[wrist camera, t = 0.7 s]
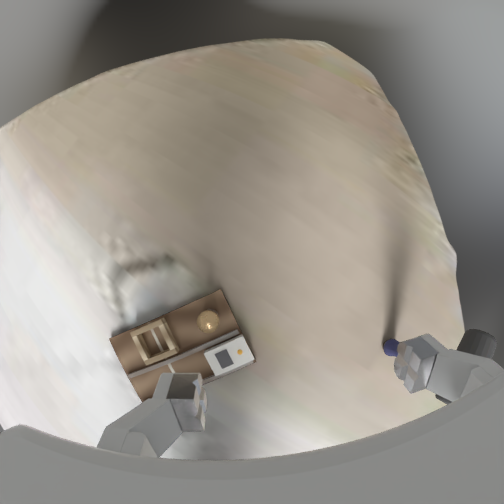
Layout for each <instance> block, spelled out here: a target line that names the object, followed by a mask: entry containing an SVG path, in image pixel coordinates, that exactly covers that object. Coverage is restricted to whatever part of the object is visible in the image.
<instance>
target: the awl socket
mask: <svg viewBox="0 0 504 504" xmlns="http://www.w3.org/2000/svg"><path fill="white" fill-rule="evenodd" d="M158 326H159V328H160V331H161V333H162V335H163V337H164V339H165V341H166V343H167V345H168V347H169V349H167V350H165V351H162V352H160V353H157V354H155V355H151V353H150V351H149V349H148V347H147V345H146V343H145V340H144V338H143V336H142V334H141V333H144V332H146V331H148V330H151V329H153V328H155V327H158ZM130 334H131V336H132V338H133V340H134V342H135V345H136V347H137V349H138V351H139V353H140V355H141V357H142V359H143V361H144V362H145V364H146V365H149V364H152V363H154V362H157V361H159V360H162V359H164V358H167V357H169V356H172V355H174V354H176V353H178V352H179V350H180V349H179V347H178V345H177V343H176V341H175V339H174V337H173V335H172V333H171V331H170V328H169V326H168V324H167V322H166V320H165V318H162V319H160V320H157V321H155V322H153V323H151V324H148V325H146V326H144V327H141V328H139V329H137V330H135V331H132V332H130Z"/></svg>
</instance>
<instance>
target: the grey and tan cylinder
mask: <svg viewBox="0 0 504 504" xmlns="http://www.w3.org/2000/svg"><path fill="white" fill-rule="evenodd" d="M197 326H198V328H199V329H200V330H201V331H202V332H204V333H212V332H214V331H215V330H216V329H217V328H218V326H219V315H218V313H217V311H215V310H214V309H208V310H205V311H203V312H202V313H201V314H200V315H199V316H198V318H197Z"/></svg>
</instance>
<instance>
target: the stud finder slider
mask: <svg viewBox="0 0 504 504" xmlns="http://www.w3.org/2000/svg"><path fill="white" fill-rule="evenodd" d="M204 355H205V357H206V359H207V361H208V363H209V365H210V367H211V369H212V370H213V372H214V374H215V376H218V375H220V374H223V373H225V372H227V371H230V370H232V369H234V368H237V367H239V366H241V365H243V364H246V363H248V362H250V361H252V360H254V357H253V354H252V352H251V350H250V349H249V347H248V345H247V343H246V341H245V339H244V336H243V334H241V335H239V336H236V337H234V338H232V339H230V340H228V341H225V342H223V343H221V344H219V345H216V346H214V347H212V348H209V349H207V350H205V351H204Z"/></svg>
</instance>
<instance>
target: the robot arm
mask: <svg viewBox="0 0 504 504" xmlns="http://www.w3.org/2000/svg"><path fill="white" fill-rule="evenodd" d="M397 352H398V353H399V354H398V356H397V357H396V358H395V362H394V371H395V373H396V376H397V377H398V378H399V379H401V380H403V381H404V386H405V387H406V389H407V390H408V391H409V392H410V394H411V393H414V392H417V391H420V390H423V389H425V388H426V389H427V390H429V391H431V392H433V393H435V394H437V395H439V396H441V397H443V398H446V399H448V400H450V401H452V403H450V404H448V405H446V406H444V407H442V408H440V409H438V410H436V411H434V412H431V413H429V414H427V415H425V416H423V417H420V418H418V419H416V420H413V421H411V422H408V423H406V424H403V425H401V426H398V427H395V428H393V429H390V430H387V431H384V432H381V433H378V434H375V435H372V436H369V437H365V438H362V439H359V440H355V441H352V442H348V443H344V444H340V445H336V446H332V447H327V448H323V449H318V450H313V451H308V452H302V453H296V454H290V455H283V456H275V457H266V458H255V459H241V460H181V459H167V458H159V457H160V456H161V455H162V454H163V453H164V452H165V451H166V450H167V449H168V448H169V447H170V446H171V445H172V444H173V442H174V441H175V440H176V439H177V438H178V437H179V436H180V435H181V434H182V432H197V431H204V428H205V420H206V419H205V415H204V413H205V412H206V411H207V398H206V392H205V389H204V388H203V387H202V382H203V380H202V377H201V374H200V373H162V374H161V375H160V378H159V381H158V384H157V386H156V389H155V392H154V394H153V397H152V399H147V400H146V401H144V402H143V403H141V404H140V405H138V406H137V407H135V408H134V409H132V410H131V411H129V412H128V413H126V414H125V415H123V416H122V417H120V418H119V419H117V420H116V421H114V422H113V423H111V424H110V425H108V426H107V427H106V428H105V430H104V432H103V435H102V437H101V439H100V441H99V443H98V445H97V448H96V447H92V446H88V445H84V444H80V443H77V442H73V441H70V440H66V439H63V438H60V437H57V436H54V435H51V434H48V433H45V432H42V431H40V430H37V429H35V428H32V427H30V426H27V425H22V424H19V425H16V426H13V427H11V428H9V429H7V430H4V431H2V432H0V504H504V369H503V368H502V367H500V366H499V365H498V364H497V363H496V362H494V361H493V360H492V359H490V358H485V357H481V356H477V355H473V354H469V353H465V352H461V351H457V350H453V349H449V350H448V349H447V348H445V347H444V346H443V345H442V344H441V343H440V342H438V341H437V340H436V339H435V338H434V337H432V336H431V335H430V334H424V335H421V336H418V337H416V338H413V339H409V340H406V341H403V342H400V343H399V344H398V347H397Z"/></svg>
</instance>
